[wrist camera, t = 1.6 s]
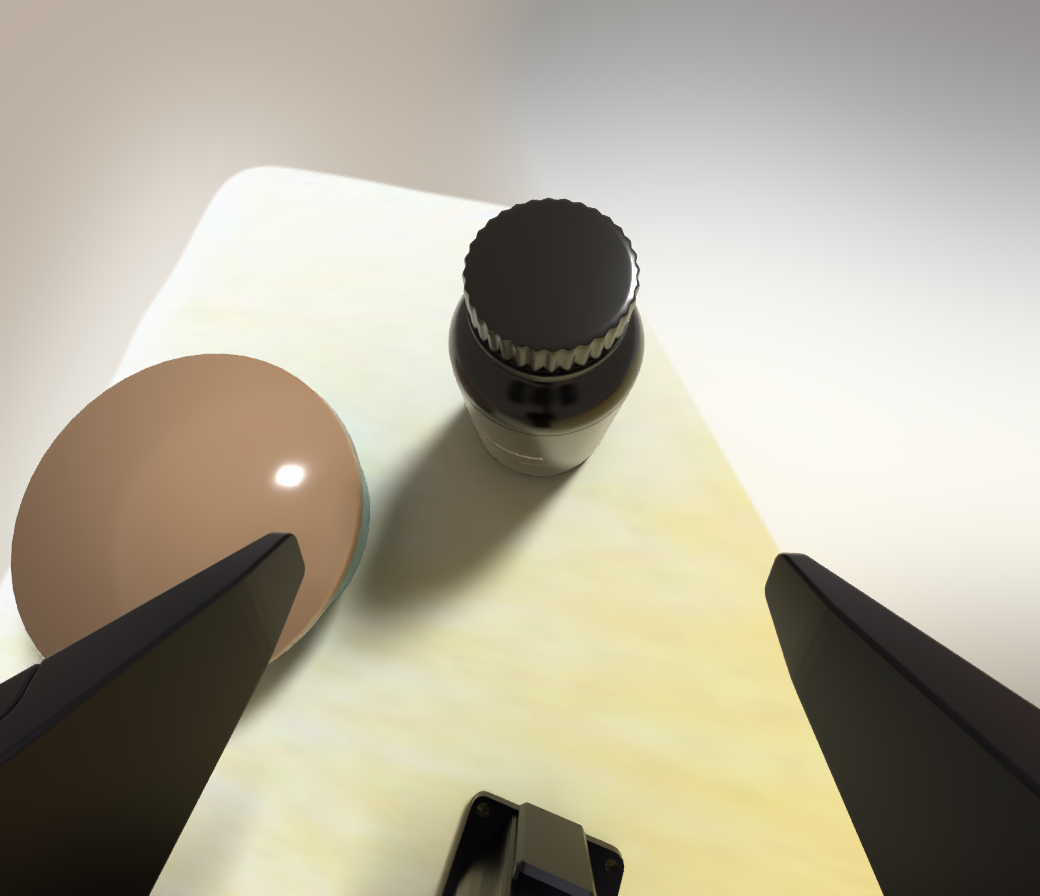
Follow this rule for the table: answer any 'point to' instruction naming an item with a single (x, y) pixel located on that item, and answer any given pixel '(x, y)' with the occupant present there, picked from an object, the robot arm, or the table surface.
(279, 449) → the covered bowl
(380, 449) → the table surface
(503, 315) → the supplement bottle
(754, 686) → the table surface
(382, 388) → the table surface
